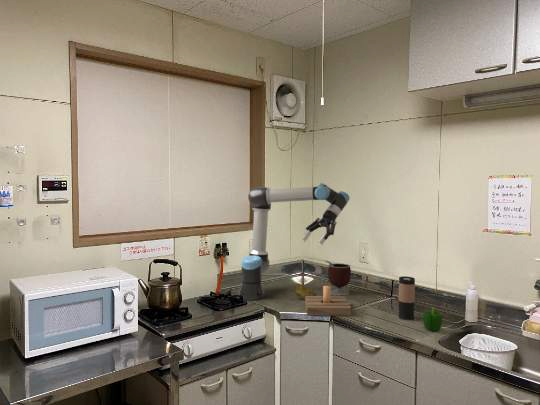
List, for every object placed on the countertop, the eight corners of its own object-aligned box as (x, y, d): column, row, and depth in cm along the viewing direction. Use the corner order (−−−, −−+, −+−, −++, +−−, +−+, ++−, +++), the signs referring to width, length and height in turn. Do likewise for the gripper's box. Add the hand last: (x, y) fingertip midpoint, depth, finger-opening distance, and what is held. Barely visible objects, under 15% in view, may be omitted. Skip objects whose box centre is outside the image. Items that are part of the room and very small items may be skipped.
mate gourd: (349, 290, 261) (350, 259, 260) (351, 296, 247) (352, 263, 247) (324, 289, 263) (325, 258, 262) (325, 295, 249) (325, 262, 248)
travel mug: (401, 314, 213) (402, 275, 212) (416, 317, 208) (417, 277, 207) (395, 318, 207) (396, 278, 206) (410, 321, 202) (411, 280, 201)
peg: (322, 307, 224) (323, 285, 223) (330, 308, 223) (330, 285, 223) (323, 310, 220) (323, 287, 219) (331, 310, 219) (331, 287, 219)
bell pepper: (435, 334, 184) (435, 312, 184) (419, 329, 191) (419, 307, 190) (446, 330, 189) (446, 308, 189) (429, 325, 196) (430, 304, 195)
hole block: (305, 302, 233) (305, 295, 233) (344, 303, 232) (344, 296, 232) (307, 315, 211) (307, 307, 211) (350, 315, 210) (351, 307, 210)
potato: (308, 302, 233) (308, 288, 233) (291, 298, 243) (291, 284, 243) (317, 300, 239) (318, 286, 239) (301, 295, 249) (301, 282, 248)
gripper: (351, 220, 231) (331, 249, 223) (319, 216, 251) (300, 243, 242) (344, 210, 228) (324, 239, 219) (313, 208, 248) (293, 234, 239)
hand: (311, 241), depth 231 cm, fingers open, 13 cm apart
